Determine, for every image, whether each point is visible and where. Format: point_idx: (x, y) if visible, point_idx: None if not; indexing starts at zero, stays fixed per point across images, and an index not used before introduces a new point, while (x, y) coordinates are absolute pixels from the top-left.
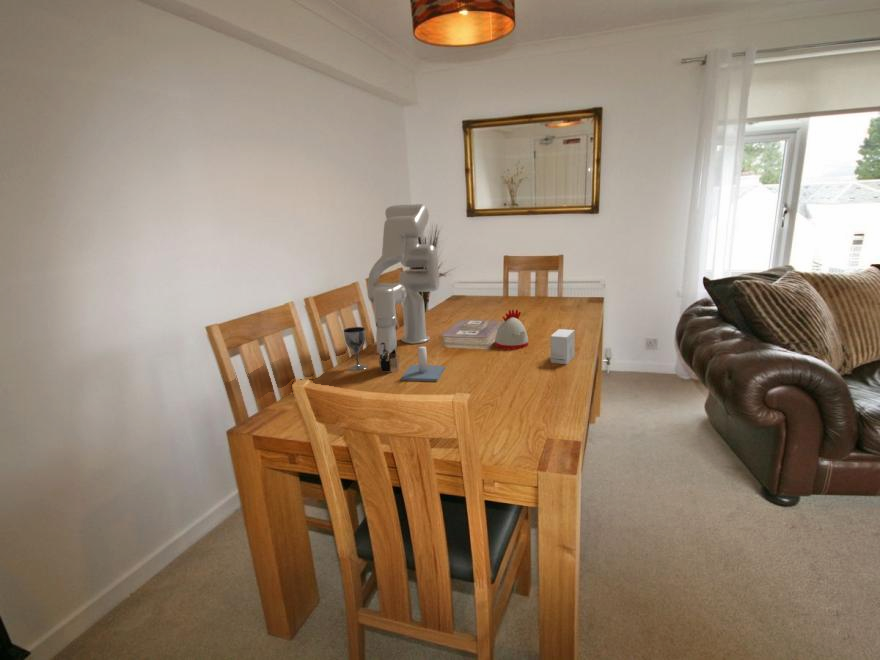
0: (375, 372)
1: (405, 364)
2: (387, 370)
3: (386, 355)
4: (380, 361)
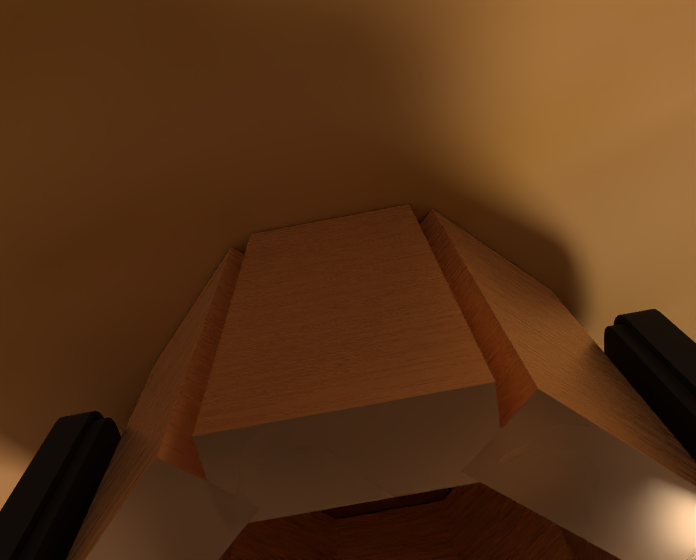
0: (87, 207)
1: None
2: None
3: (582, 519)
4: (125, 468)
